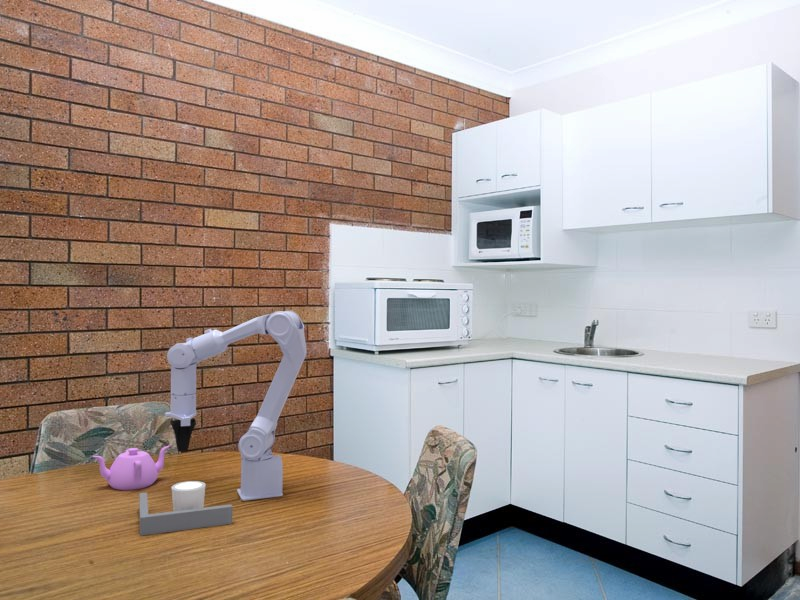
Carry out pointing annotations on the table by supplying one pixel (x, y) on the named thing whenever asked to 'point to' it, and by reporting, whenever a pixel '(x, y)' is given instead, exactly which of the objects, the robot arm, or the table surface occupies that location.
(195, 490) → the shot glass
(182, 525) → the l-shaped bracket
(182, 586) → the table surface
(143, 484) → the teapot
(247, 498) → the robot arm
